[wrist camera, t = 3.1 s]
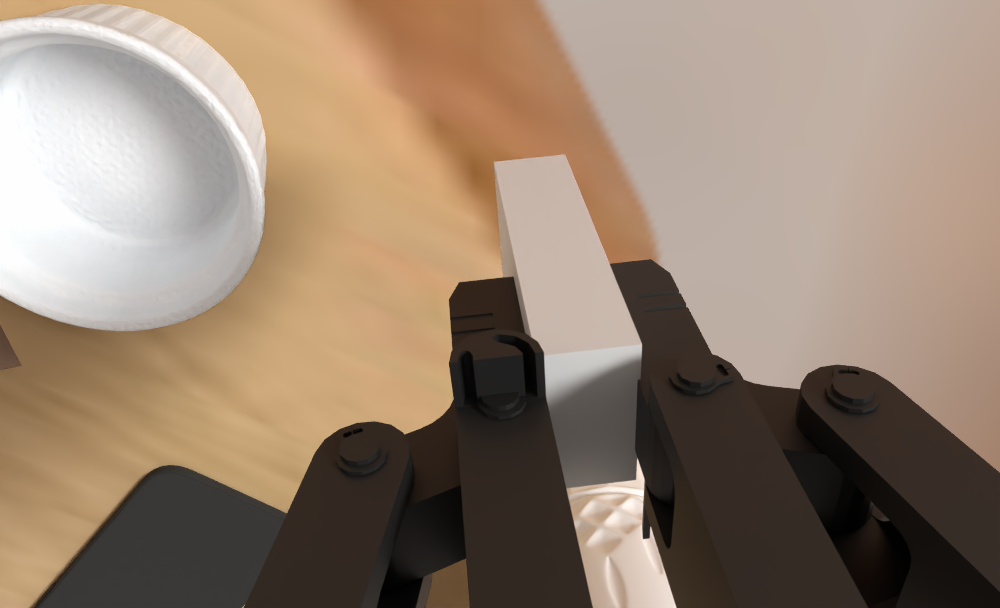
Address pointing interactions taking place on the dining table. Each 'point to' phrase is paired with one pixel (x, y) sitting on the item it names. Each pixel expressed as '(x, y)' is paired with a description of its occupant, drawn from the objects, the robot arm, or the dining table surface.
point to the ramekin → (124, 169)
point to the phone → (172, 548)
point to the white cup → (618, 546)
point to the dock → (7, 353)
